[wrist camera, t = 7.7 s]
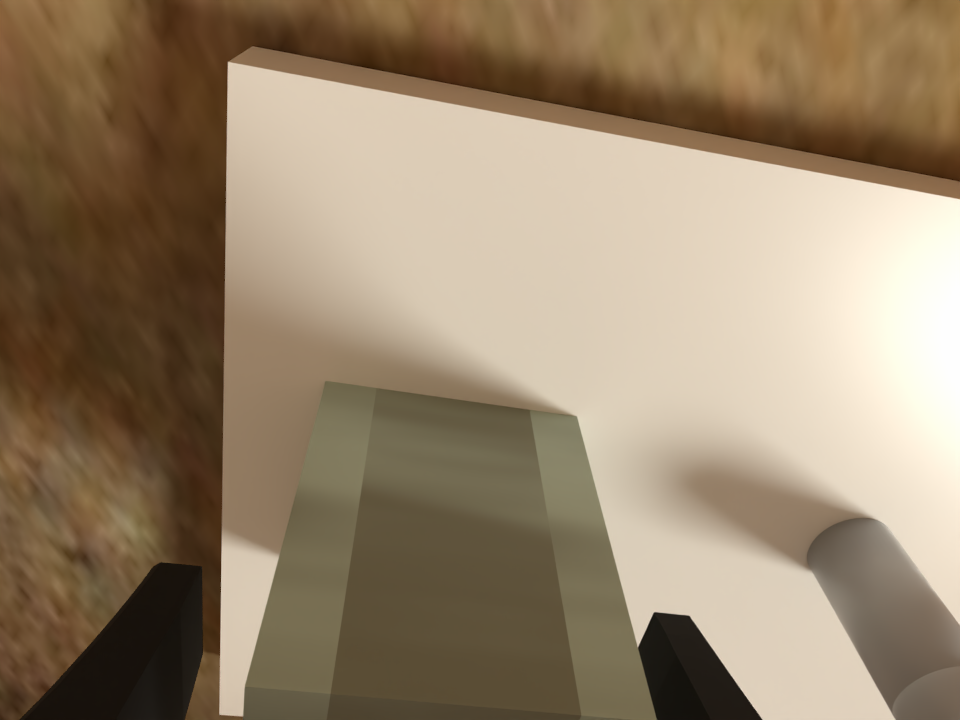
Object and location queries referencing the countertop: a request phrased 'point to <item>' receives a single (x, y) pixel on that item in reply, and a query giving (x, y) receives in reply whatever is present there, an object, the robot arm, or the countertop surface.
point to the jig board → (618, 357)
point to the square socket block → (444, 572)
